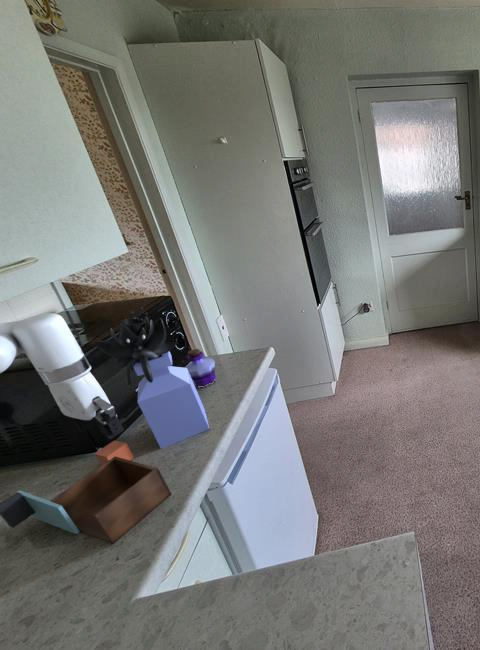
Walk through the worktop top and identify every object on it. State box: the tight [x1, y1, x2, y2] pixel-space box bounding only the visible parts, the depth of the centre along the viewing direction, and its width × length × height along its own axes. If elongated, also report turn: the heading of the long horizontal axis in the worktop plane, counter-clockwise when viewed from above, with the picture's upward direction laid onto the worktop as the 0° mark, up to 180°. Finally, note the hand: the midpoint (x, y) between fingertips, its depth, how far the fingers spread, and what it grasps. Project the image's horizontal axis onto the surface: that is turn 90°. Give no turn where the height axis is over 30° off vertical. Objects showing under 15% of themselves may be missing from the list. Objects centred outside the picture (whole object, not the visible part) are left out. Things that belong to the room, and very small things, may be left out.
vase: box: [93, 306, 210, 450], centre depth 94 cm, size 14×12×35 cm
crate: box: [50, 456, 172, 545], centre depth 78 cm, size 12×14×8 cm
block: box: [93, 440, 135, 466], centre depth 92 cm, size 4×4×4 cm
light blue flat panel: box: [0, 490, 81, 535], centre depth 74 cm, size 4×14×8 cm, turn 72°
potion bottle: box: [184, 348, 216, 386], centre depth 121 cm, size 9×9×12 cm
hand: (102, 431), depth 89 cm, fingers open, 9 cm apart
